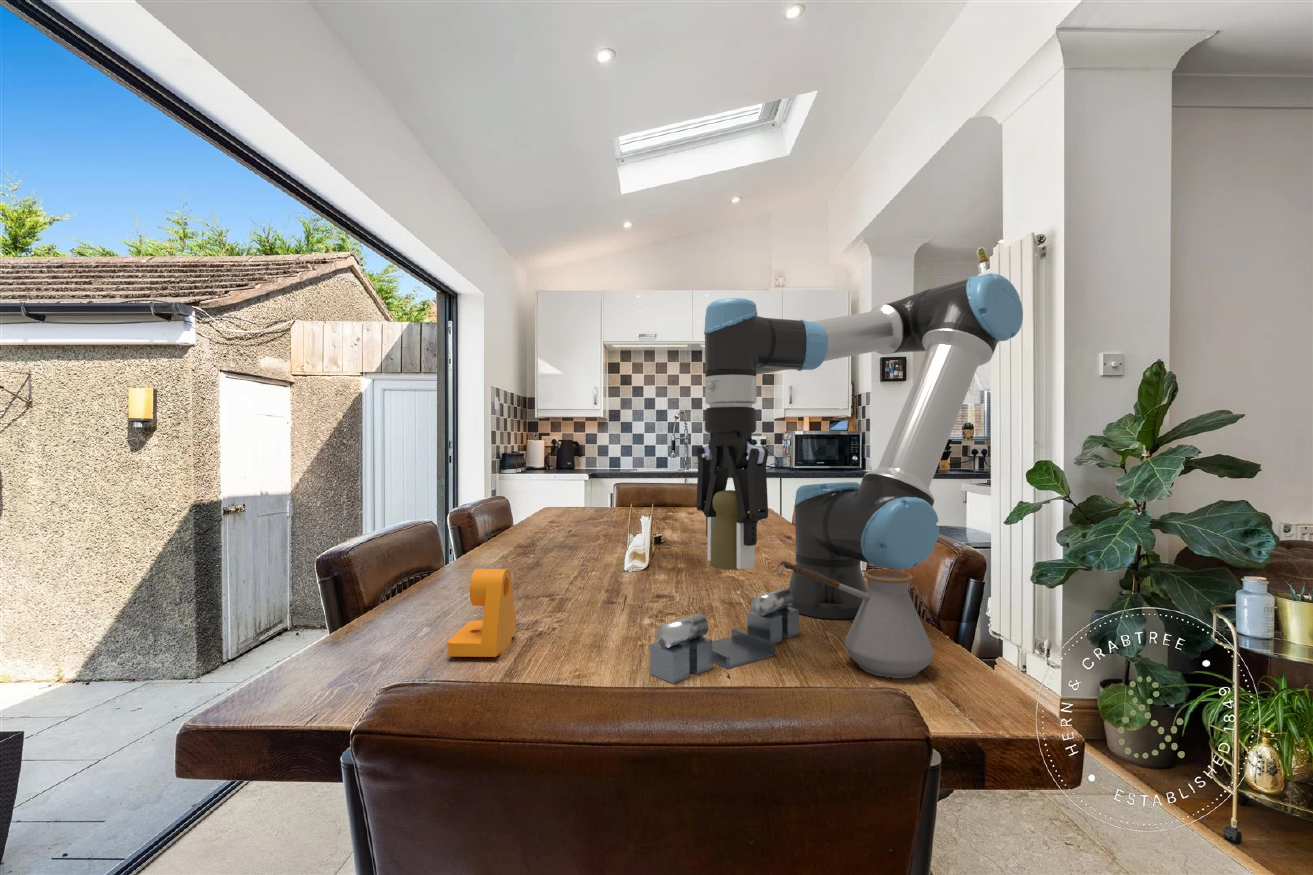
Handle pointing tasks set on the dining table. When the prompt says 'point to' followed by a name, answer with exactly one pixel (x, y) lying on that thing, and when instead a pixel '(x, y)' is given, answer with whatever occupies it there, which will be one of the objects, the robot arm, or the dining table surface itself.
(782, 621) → the shaft
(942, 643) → the dining table surface
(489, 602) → the bracket
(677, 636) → the shaft
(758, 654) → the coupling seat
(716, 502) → the olive pepper mill
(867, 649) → the coffee pot
